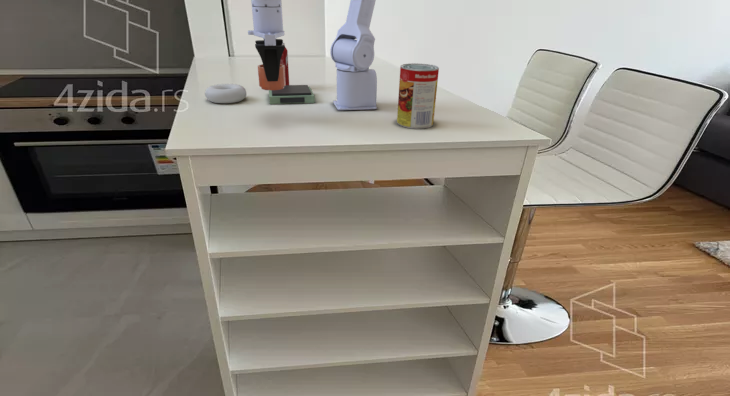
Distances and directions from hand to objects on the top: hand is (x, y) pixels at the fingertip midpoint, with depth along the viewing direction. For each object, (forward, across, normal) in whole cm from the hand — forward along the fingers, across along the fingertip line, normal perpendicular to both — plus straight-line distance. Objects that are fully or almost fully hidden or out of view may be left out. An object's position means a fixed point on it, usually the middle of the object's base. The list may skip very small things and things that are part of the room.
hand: (272, 78), depth 88 cm
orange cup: (+2, 0, 0) cm, 2 cm away
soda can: (+9, -32, +2) cm, 33 cm away
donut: (+9, -19, -11) cm, 24 cm away
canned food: (+9, +7, +30) cm, 32 cm away
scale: (+9, -19, +5) cm, 22 cm away
